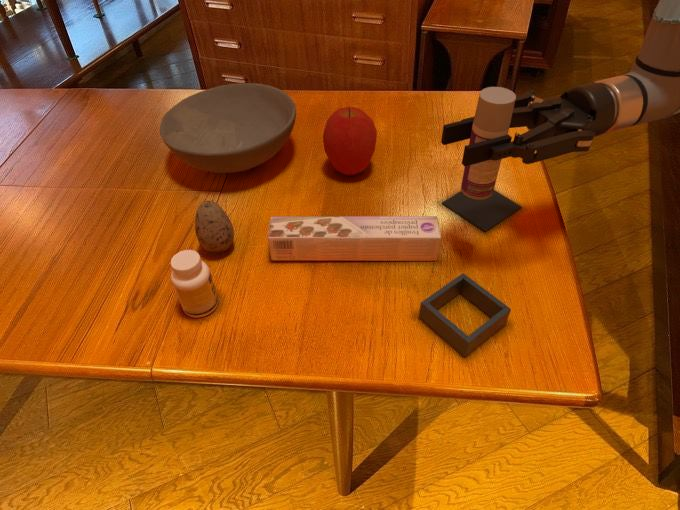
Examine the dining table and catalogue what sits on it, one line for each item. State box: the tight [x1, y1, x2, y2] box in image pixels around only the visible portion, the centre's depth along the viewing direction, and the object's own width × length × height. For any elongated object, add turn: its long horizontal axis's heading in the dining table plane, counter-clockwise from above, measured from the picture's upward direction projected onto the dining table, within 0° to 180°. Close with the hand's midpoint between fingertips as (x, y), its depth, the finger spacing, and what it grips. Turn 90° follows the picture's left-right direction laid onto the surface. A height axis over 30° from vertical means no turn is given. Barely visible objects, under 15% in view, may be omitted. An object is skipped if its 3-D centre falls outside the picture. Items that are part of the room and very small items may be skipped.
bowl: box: [159, 82, 297, 174], centre depth 97 cm, size 26×26×10 cm
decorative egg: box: [194, 200, 235, 254], centre depth 78 cm, size 6×6×10 cm
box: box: [267, 215, 442, 262], centre depth 79 cm, size 27×5×6 cm, turn 89°
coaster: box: [441, 189, 523, 233], centre depth 88 cm, size 10×10×1 cm
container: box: [460, 86, 517, 200], centre depth 66 cm, size 5×5×15 cm
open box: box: [418, 272, 512, 358], centre depth 69 cm, size 9×9×4 cm
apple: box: [322, 105, 378, 176], centre depth 92 cm, size 10×10×14 cm
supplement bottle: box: [170, 249, 219, 318], centre depth 70 cm, size 5×5×10 cm
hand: (454, 145), depth 64 cm, fingers closed on container, 5 cm apart
